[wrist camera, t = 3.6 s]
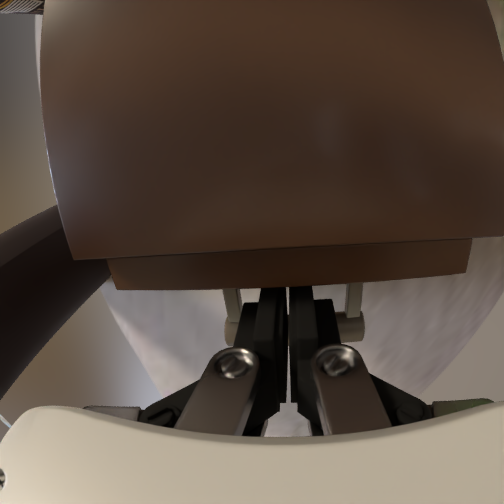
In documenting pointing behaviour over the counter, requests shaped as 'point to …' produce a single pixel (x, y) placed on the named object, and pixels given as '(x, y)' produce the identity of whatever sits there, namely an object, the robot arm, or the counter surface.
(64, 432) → the robot arm
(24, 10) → the coffee mug
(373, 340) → the counter surface
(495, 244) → the counter surface
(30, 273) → the bottle
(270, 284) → the drawer
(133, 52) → the cabinet
